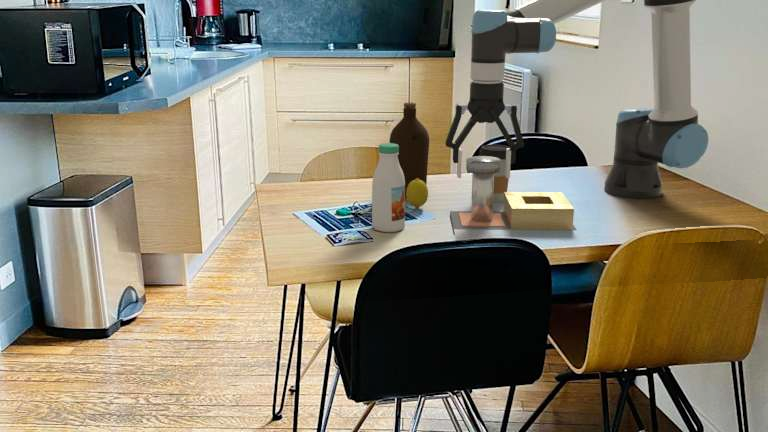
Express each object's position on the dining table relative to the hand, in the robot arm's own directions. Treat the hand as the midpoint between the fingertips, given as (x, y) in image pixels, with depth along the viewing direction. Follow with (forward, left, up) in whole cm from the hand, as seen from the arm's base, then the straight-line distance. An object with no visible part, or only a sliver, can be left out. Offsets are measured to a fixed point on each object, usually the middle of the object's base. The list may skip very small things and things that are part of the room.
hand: (483, 176), depth 176 cm
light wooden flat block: (-13, 0, -11) cm, 17 cm away
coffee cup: (-5, -19, -12) cm, 23 cm away
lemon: (+15, -14, -12) cm, 24 cm away
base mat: (-7, 0, -12) cm, 14 cm away
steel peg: (0, 0, -10) cm, 10 cm away
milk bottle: (+22, +2, -12) cm, 25 cm away
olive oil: (+17, -27, -12) cm, 34 cm away
